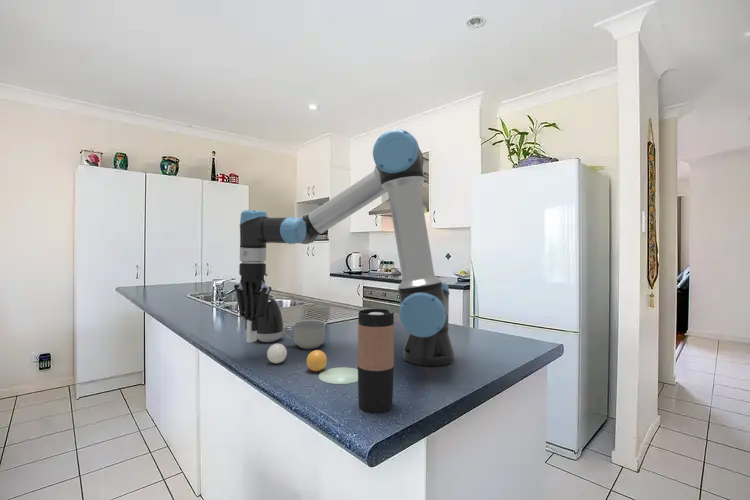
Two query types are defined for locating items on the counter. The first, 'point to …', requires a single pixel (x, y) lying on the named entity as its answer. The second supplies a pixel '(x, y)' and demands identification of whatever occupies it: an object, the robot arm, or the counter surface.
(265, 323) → the black and grey ovoid
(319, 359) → the orange ball
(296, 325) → the teacup
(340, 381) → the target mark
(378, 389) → the travel mug
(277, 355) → the cue ball
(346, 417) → the counter surface
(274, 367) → the counter surface
